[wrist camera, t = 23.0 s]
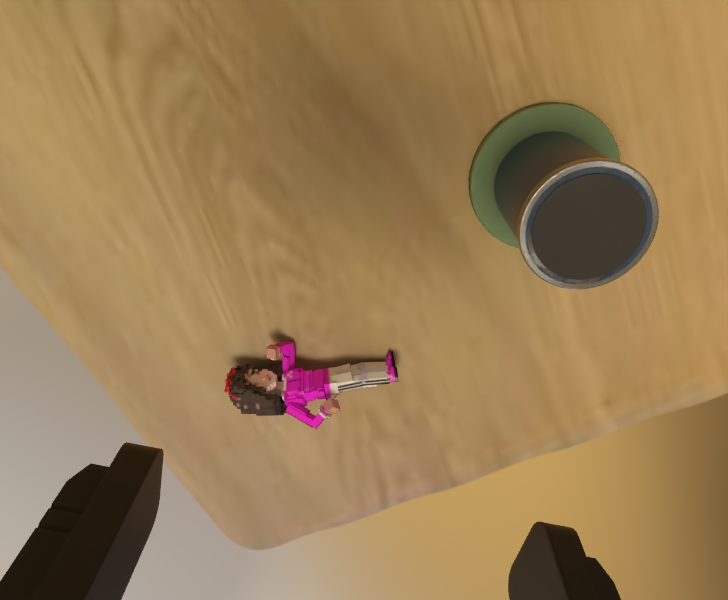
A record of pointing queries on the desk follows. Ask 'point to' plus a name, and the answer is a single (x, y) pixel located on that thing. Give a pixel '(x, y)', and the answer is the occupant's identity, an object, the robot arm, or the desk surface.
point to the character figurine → (301, 385)
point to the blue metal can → (575, 210)
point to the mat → (514, 132)
